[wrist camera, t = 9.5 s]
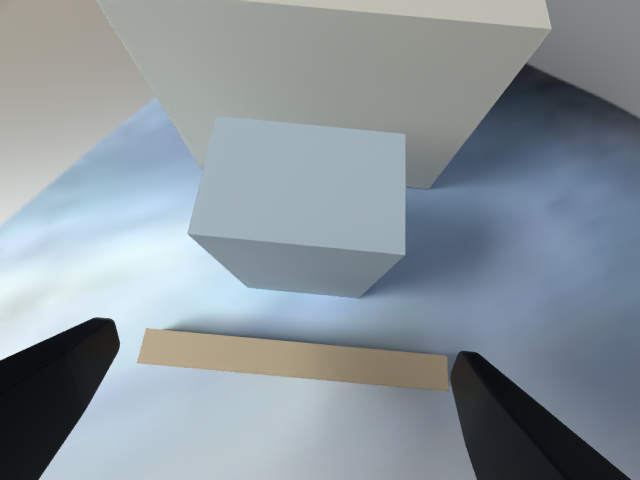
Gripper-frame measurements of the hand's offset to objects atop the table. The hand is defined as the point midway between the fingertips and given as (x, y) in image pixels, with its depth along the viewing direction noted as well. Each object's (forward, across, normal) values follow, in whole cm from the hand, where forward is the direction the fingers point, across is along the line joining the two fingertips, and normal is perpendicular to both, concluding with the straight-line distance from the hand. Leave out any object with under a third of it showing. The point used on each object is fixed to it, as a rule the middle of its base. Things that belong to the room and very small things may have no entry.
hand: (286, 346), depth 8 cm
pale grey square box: (+9, 0, +2) cm, 9 cm away
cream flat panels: (+9, 0, +2) cm, 9 cm away
